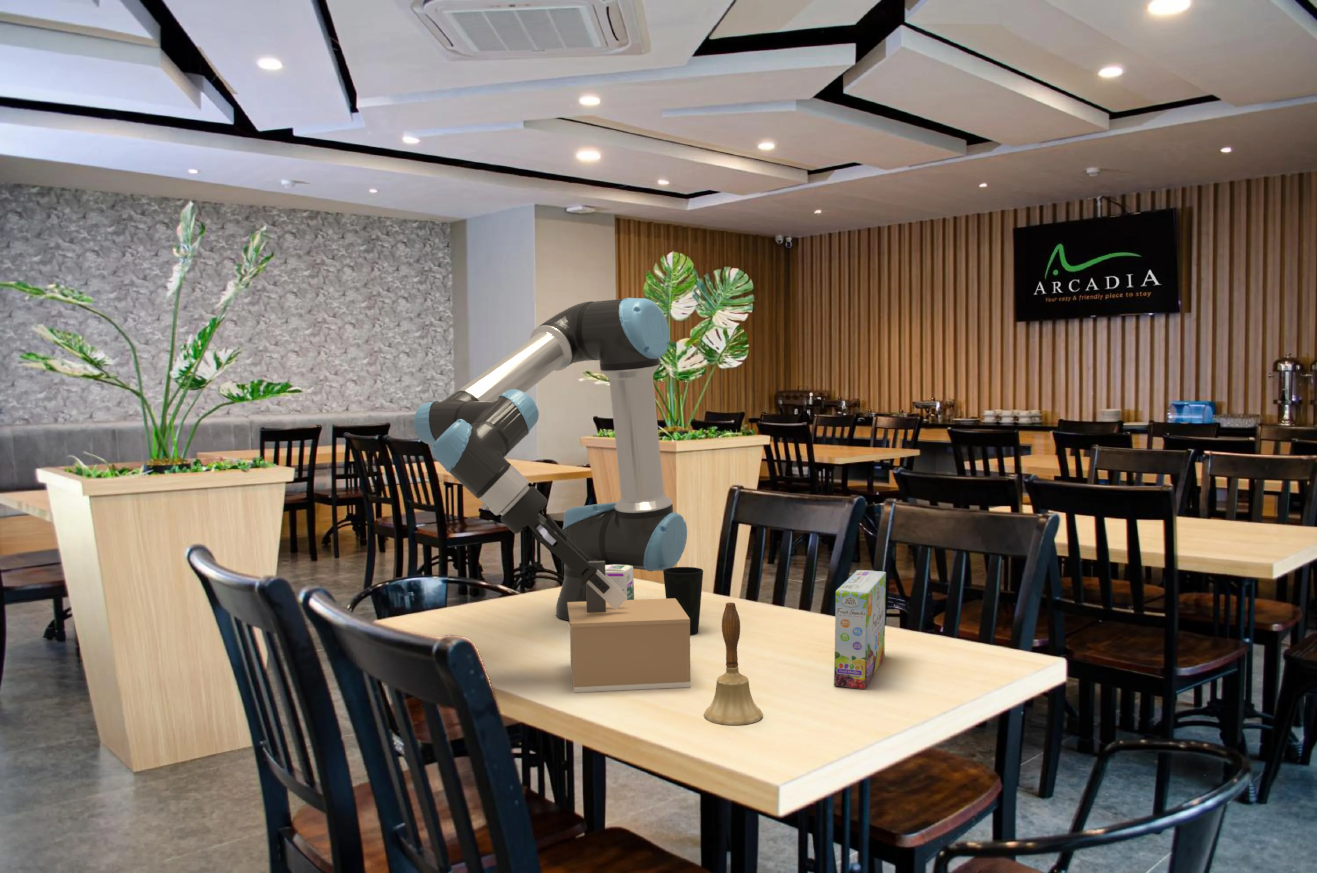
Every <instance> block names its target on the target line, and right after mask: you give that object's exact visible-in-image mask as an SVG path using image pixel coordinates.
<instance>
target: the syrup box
mask: <svg viewBox="0 0 1317 873" xmlns="http://www.w3.org/2000/svg"><path fill="white" fill-rule="evenodd" d="M605 574H606V575H607V576H608V577H609V578H610V579H611V580H612V581H613V582H614V583H615V584H616V585H617V586H619V587H620V588H621V589H622V590H623V591H624V592H625V596H626V597H627V599H626V600H635V586H634V585H635V584H634V583H635V580H634V569H633V566H631V565H620V564H617V565H605Z"/></svg>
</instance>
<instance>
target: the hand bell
mask: <svg viewBox="0 0 1317 873" xmlns="http://www.w3.org/2000/svg"><path fill="white" fill-rule="evenodd" d="M721 632H722V638H723V640H724V644H725V651H726V652H725V666H726V668H725V669H726V670H725V673H723V674H721V675H719V676H718V677H717V678H716V686H715V693H714V696H713V700H712V702H711V703H710V705H708V707H707V708H706V709H705V711H704V712H703V717H704V719H705V720H706V721H708V722H710V723H713V724H716V725H717V724H718V725H722V726H742V725H744V726H745V725H750V724H754V723H757V722H759V721H760V720H762V719H763V716H764V713H763V711H762V710H761V708H759V707H758V706H757V704H756V703H755V701H754V699H753V697H752V694H751V688H750V681H749V678H748V677H747V676H746V675H745V674H741V673H740V671H739V663H738V659H739V658H738V643H739V640H740V636H741V620H740V616H739V613H738V610H737V605H736V603H735V602H726V603H725V607H724V611H723V614H722V618H721Z"/></svg>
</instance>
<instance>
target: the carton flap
mask: <svg viewBox="0 0 1317 873" xmlns="http://www.w3.org/2000/svg"><path fill="white" fill-rule="evenodd" d="M588 562H589V563H590V564H591V565H592V566H593V567H595V568H596V570H599V571H600V572H601V573H602V574H603V575H604V576H605V561H588ZM567 607H568V614H569V620H568V621H569V629H570V628H571V627H597V626H623V625H649V624H675V623H690V618H689V617H688V615H687V614H686V613H685V611H684V610H683V608H682V607H681V605H680V604H679V603H678V601H677V600H676V598H670V599H666V598H652V599H651V598H650V599H645V598H644V599H634V600H625V601H624V602H623V603H622V604H621V605H620V606H619V607H618V608H617V610H615V609H614V608H613V607H612V606H611V605H609V604H608V603H607V602H606V601H605V600H604V599H603V598H602V597H601V596H600V595H599V594H598V593H597V592H596V591H595V590H594V589H593V588H592V587H590V586H589V585H588V584H587V583H586V601H585V602H567Z"/></svg>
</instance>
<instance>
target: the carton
mask: <svg viewBox="0 0 1317 873" xmlns="http://www.w3.org/2000/svg"><path fill="white" fill-rule="evenodd" d="M569 639H570V640H569V642H570V643H569V646H570V650H569V651H570V670H571V679H572V685H573V687H572V688H573V693H588V692H589V693H591V692H593V693H595V692H612V691H614V692H615V691H617V692H618V691H636V690H637V691H638V690H654V689H656V690H657V689H658V690H659V689H660V690H661V689H676V688H677V689H678V688H682V689H683V688H691V686H692V684H691V635H690V623H675V624H649V625H623V626H597V627H571V628H570V627H569Z"/></svg>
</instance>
